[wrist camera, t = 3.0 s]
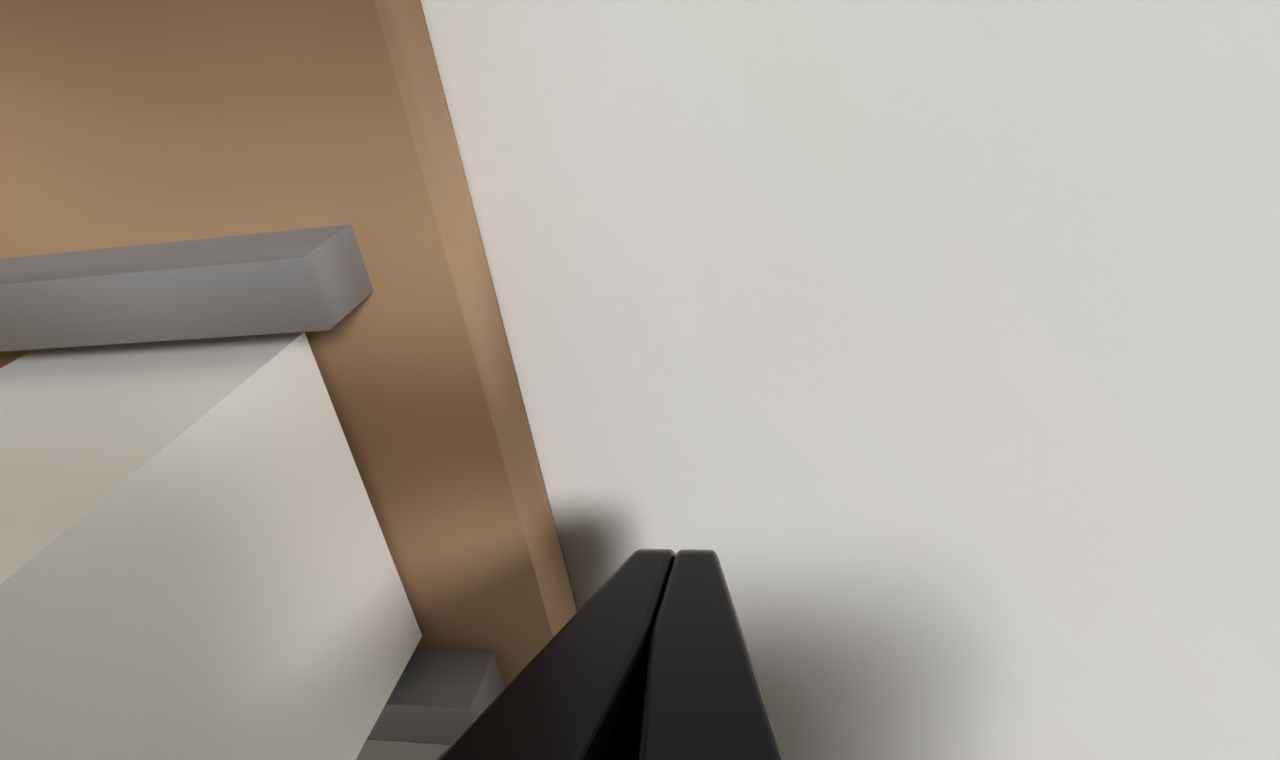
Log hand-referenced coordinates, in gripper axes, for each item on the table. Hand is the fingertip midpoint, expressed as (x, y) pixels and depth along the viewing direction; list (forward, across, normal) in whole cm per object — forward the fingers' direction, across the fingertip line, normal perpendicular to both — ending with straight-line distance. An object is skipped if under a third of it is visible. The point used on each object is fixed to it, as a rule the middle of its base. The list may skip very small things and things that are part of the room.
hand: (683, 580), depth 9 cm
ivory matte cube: (+1, +7, 0) cm, 8 cm away
